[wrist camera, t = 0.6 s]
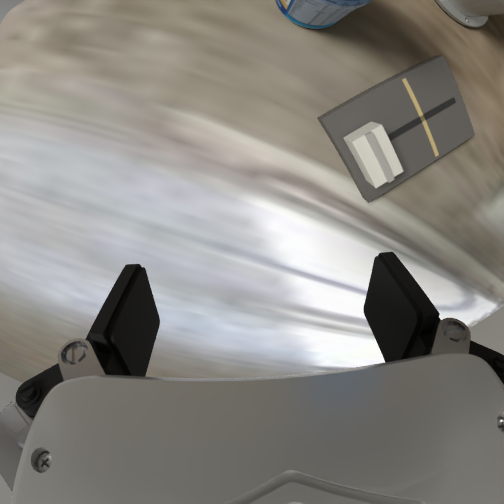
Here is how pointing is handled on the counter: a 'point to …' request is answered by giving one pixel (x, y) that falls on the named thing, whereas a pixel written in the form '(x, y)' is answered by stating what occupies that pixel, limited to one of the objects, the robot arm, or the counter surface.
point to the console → (404, 120)
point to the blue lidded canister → (317, 11)
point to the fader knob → (374, 154)
